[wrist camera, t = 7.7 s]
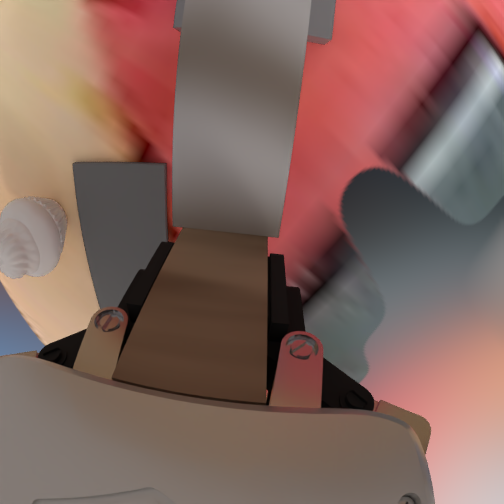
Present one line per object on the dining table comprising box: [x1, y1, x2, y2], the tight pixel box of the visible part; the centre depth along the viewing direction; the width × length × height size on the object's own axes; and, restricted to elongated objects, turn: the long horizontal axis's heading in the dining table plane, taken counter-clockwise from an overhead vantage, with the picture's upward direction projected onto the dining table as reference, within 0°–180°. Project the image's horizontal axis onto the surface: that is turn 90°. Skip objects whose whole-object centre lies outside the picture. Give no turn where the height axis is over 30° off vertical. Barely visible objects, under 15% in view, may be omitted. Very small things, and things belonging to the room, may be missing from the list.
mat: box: [73, 162, 168, 309], centre depth 21 cm, size 16×7×1 cm, turn 174°
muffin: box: [0, 196, 67, 279], centre depth 16 cm, size 6×6×7 cm
